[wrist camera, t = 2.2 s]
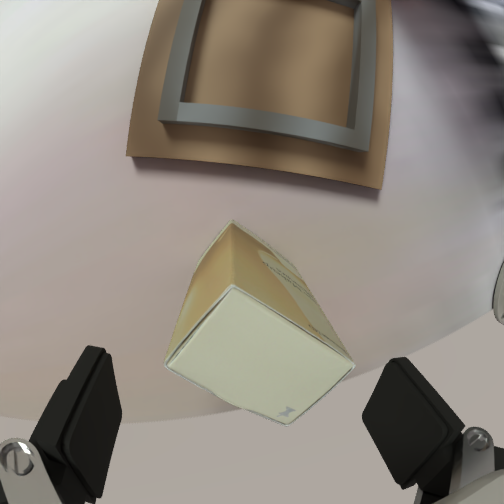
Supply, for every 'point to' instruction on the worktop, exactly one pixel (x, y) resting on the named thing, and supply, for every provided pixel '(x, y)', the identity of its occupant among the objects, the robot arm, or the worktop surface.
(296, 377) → the skincare box
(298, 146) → the socket board
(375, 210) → the worktop surface
